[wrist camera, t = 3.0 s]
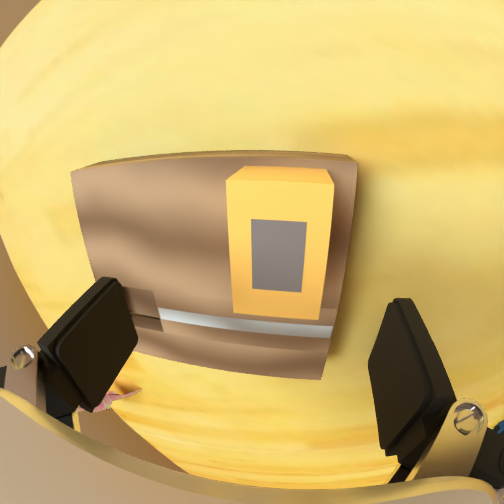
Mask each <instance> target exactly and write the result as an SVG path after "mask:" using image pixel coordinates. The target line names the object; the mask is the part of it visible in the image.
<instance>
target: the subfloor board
mask: <svg viewBox="0 0 504 504" xmlns="http://www.w3.org/2000/svg"><path fill="white" fill-rule="evenodd" d="M244 166H279V167H302V168H319V169H326V170H327V171H328V173H329V175H330V177H331V179H332V181H333V183H334V196H333V209H332V220H331V230H330V240H329V248H328V257H327V265H326V273H325V280H324V287H323V294H322V300H321V307H320V313H319V319H318V320H310V319H295V318H282V317H271V316H260V315H250V314H240V313H233V300H232V285H231V270H230V253H229V235H228V217H227V196H226V180H227V179H228V178H229V177H231V176H232V175H233V174H235V173H236V172H237V171H239V170H240V169H241V168H243V167H244ZM357 167H358V163H357V162H356V161H354V160H353V159H352V158H350V157H349V156H347V155H342V154H331V153H317V152H299V151H269V150H233V151H202V152H185V153H171V154H159V155H149V156H140V157H131V158H123V159H116V160H109V161H103V162H99V163H95V164H92V165H89V166H86V167H83V168H80V169H77V170H75V171H72V172H70V174H71V181H72V187H73V193H74V198H75V203H76V208H77V213H78V218H79V222H80V227H81V231H82V235H83V239H84V243H85V247H86V251H87V254H88V258H89V261H90V265H91V268H92V271H93V274H94V278H95V281H96V282H97V281H98V280H99V279H100V278H101V277H103V276H105V277H113V278H116V279H117V280H118V281H119V283H121V285H122V288H123V291H124V295H125V298H126V301H127V305H128V308H129V311H130V314H131V317H132V320H133V323H134V326H135V329H136V332H137V335H138V343H137V345H136V347H135V348H134V350H133V351H136V352H139V353H143V354H147V355H151V356H155V357H159V358H164V359H168V360H172V361H177V362H182V363H186V364H191V365H197V366H202V367H207V368H213V369H219V370H225V371H232V372H239V373H246V374H254V375H263V376H272V377H283V378H295V379H311V380H321V377H322V373H323V370H324V366H325V362H326V358H327V354H328V350H329V346H330V342H331V338H332V334H333V329H334V325H335V320H336V316H337V311H338V306H339V301H340V296H341V291H342V285H343V280H344V274H345V268H346V262H347V256H348V249H349V242H350V235H351V227H352V219H353V211H354V202H355V191H356V180H357Z"/></svg>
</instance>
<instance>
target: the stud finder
mask: <svg viewBox="0 0 504 504" xmlns="http://www.w3.org/2000/svg"><path fill="white" fill-rule="evenodd" d="M226 196H227V217H228V235H229V253H230V270H231V285H232V300H233V313H240V314H250V315H260V316H271V317H282V318H295V319H310V320H318V319H319V313H320V307H321V300H322V294H323V287H324V280H325V273H326V265H327V257H328V248H329V240H330V230H331V220H332V209H333V196H334V183H333V181H332V179H331V177H330V175H329V173H328V171H327V170H326V169H319V168H302V167H279V166H244V167H243V168H241V169H240V170H239V171H237V172H236V173H235V174H233V175H232V176H231V177H229V178H228V179H227V180H226Z"/></svg>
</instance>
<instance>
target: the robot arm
mask: <svg viewBox="0 0 504 504" xmlns="http://www.w3.org/2000/svg"><path fill="white" fill-rule="evenodd" d="M37 343H38V345H39V347H40V348H41V351H40V352H38V351H37V348H36V347H35V346H33V345H31V344H26V345H22V346H20V347H18V348H17V349H15V350H14V351H13V352H12V353H11V355H10V357H9V360H8V364H7V366H4V367H1V368H0V504H504V436H502V435H500V434H499V433H497V432H495V431H493V430H492V429H490V428H488V427H487V424H488V418H487V413H486V411H485V409H484V408H483V406H482V405H481V404H480V403H478V402H477V401H476V400H473V399H470V398H463V399H460V400H458V401H457V399H456V397H455V394H454V391H453V388H452V386H451V383H450V380H449V378H448V375H447V373H446V370H445V368H444V365H443V363H442V361H441V358H440V356H439V354H438V351H437V349H436V347H435V345H434V342H433V341H432V339H431V337H430V334H429V332H428V330H427V328H426V326H425V324H424V322H423V320H422V318H421V316H420V314H419V312H418V310H417V308H416V306H415V304H414V302H413V301H412V299H410V298H395V299H394V300H393V302H392V303H389V304H388V306H387V308H386V312H385V315H384V318H383V321H382V324H381V327H380V330H379V333H378V336H377V338H376V341H375V344H374V347H373V349H372V352H371V355H370V357H369V361H368V370H369V375H370V381H371V386H372V392H373V398H374V404H375V411H376V418H377V425H378V433H379V442H380V447H381V449H385V455H386V456H393V455H397V457H398V463H399V464H398V465H397V467H396V468H395V470H394V471H393V472H392V474H391V475H390V476H389V478H388V479H387V480H386V482H385V483H384V484H383V485H376V486H368V487H358V488H345V489H317V490H304V489H279V488H266V487H256V486H248V485H241V484H234V483H228V482H222V481H217V480H212V479H207V478H203V477H198V476H194V475H190V474H186V473H182V472H179V471H175V470H171V469H168V468H165V467H162V466H158V465H155V464H152V463H149V462H147V461H144V460H141V459H138V458H135V457H133V456H130V455H128V454H125V453H123V452H120V451H118V450H115V449H113V448H111V447H109V446H106V445H104V444H102V443H100V442H98V441H96V440H94V439H92V438H90V437H88V436H85V435H84V434H82V433H81V430H80V425H79V420H78V413H77V407H78V405H79V406H80V407H81V408H82V409H84V410H86V411H89V412H91V413H92V412H93V410H94V409H95V407H98V406H99V405H100V403H101V402H102V400H103V398H104V397H105V395H106V393H107V392H108V390H109V388H110V387H111V385H112V383H113V382H114V380H115V379H116V377H117V375H118V374H119V372H120V370H121V369H122V367H123V366H124V364H125V362H126V361H127V359H128V358H129V356H130V355H131V353H132V351H133V350H134V348H135V347H136V345H137V343H138V335H137V332H136V329H135V326H134V323H133V320H132V317H131V314H130V311H129V308H128V305H127V301H126V298H125V295H124V291H123V288H122V285H121V283H119V281H118V280H117V279H116V278H113V277H105V276H103V277H101V278H100V279H99V280H98V281H97V282H95V283H94V284H93V285H92V286H91V287H90V288H89V289H88V290H87V291H86V292H85V293H84V294H83V295H82V296H81V297H80V298H79V299H78V300H77V301H76V302H75V303H74V304H73V305H72V306H71V307H70V308H69V309H68V310H67V311H66V312H65V313H64V314H63V315H62V316H61V317H60V318H59V319H58V320H57V321H56V322H55V323H54V324H53V326H52V327H51V328H50V329H49V330H48V331H47V332H46V333H45V334H44V335H43V336H42V338H41V339H40V340H39V341H38V342H37Z"/></svg>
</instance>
